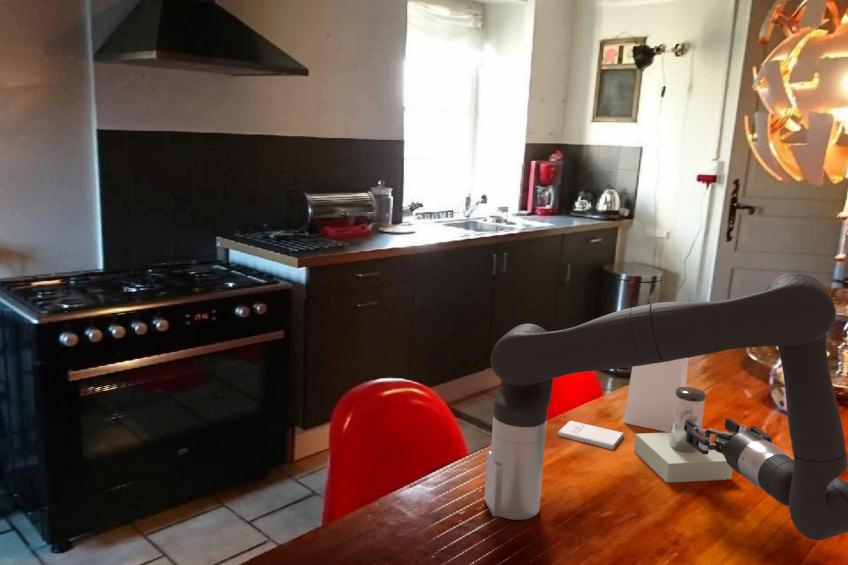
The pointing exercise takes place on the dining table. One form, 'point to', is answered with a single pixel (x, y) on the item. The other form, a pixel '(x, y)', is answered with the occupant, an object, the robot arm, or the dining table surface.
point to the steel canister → (686, 416)
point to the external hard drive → (591, 434)
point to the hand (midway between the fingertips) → (706, 423)
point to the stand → (680, 460)
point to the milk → (654, 393)
